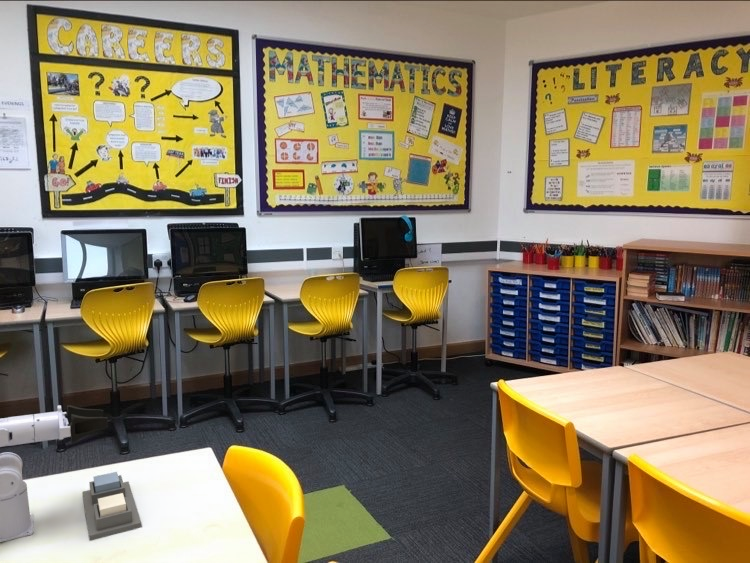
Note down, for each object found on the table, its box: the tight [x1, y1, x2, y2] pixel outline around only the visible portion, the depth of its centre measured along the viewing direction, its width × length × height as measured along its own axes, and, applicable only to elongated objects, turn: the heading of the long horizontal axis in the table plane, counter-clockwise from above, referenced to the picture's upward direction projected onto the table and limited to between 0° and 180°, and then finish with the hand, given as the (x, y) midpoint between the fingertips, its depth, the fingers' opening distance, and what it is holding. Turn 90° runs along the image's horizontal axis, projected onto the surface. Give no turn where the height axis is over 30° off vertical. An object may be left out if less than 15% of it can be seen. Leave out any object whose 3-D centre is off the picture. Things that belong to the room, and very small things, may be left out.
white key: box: [98, 493, 126, 517], centre depth 131 cm, size 5×5×2 cm
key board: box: [82, 474, 143, 541], centre depth 136 cm, size 10×20×4 cm, turn 28°
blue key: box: [93, 471, 120, 493], centre depth 141 cm, size 5×5×2 cm
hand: (105, 418), depth 135 cm, fingers open, 7 cm apart
